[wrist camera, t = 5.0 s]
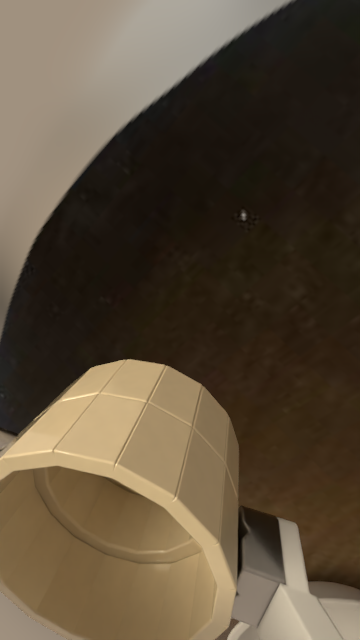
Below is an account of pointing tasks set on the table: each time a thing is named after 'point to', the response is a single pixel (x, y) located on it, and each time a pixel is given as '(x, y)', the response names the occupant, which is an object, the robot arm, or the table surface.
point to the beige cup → (123, 509)
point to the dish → (337, 599)
